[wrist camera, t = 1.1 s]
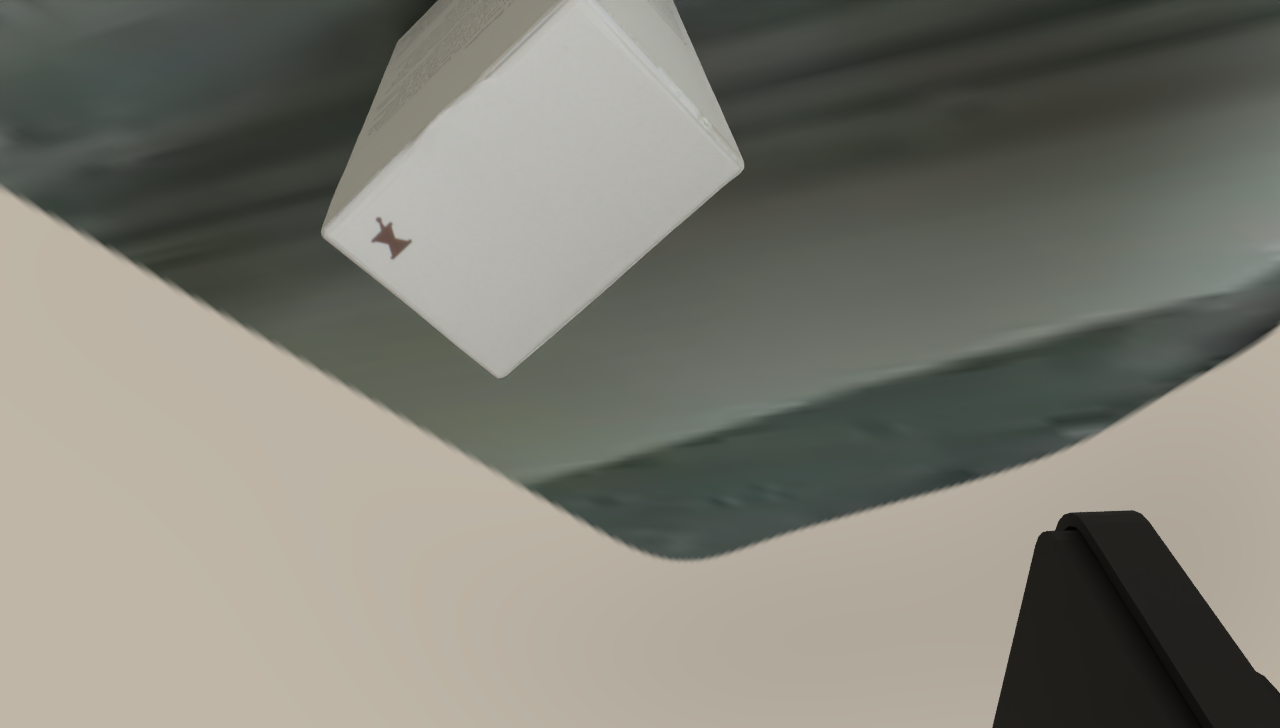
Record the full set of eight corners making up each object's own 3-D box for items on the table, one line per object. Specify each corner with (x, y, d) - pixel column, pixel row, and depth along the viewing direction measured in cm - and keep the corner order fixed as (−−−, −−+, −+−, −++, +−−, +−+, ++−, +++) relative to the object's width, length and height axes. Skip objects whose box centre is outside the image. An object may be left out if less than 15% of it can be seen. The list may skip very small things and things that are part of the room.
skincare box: (514, 156, 30) (493, 394, 20) (394, 40, 29) (303, 235, 18) (684, -1, 29) (755, 172, 18) (567, -136, 27) (573, -28, 17)
